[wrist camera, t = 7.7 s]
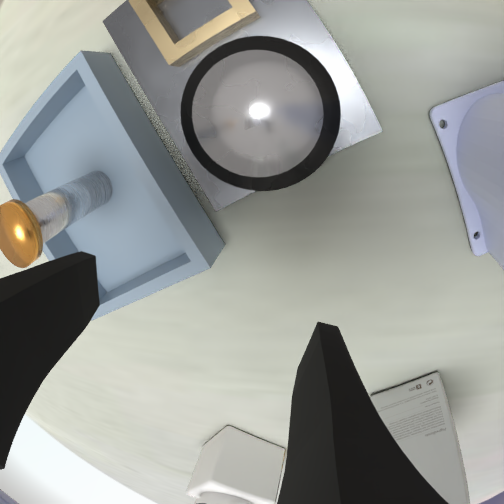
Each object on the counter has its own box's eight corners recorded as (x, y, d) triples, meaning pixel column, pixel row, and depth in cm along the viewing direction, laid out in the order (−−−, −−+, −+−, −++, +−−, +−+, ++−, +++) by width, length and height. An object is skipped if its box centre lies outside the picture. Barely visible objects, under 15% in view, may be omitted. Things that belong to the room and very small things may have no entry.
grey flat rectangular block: (381, 134, 15) (393, 141, 13) (224, 209, 19) (208, 228, 16) (249, -66, 11) (236, -90, 8) (113, 23, 15) (83, 17, 12)
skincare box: (368, 392, 24) (366, 572, 10) (442, 366, 21) (477, 547, 8) (391, 436, 26) (392, 576, 13) (453, 415, 24) (472, 556, 10)
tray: (225, 244, 20) (210, 267, 18) (110, 299, 25) (91, 320, 22) (110, 53, 16) (80, 50, 13) (21, 152, 20) (-6, 161, 18)
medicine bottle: (254, 466, 33) (233, 549, 23) (202, 444, 33) (170, 529, 22) (286, 448, 30) (267, 546, 19) (228, 423, 29) (193, 526, 19)
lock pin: (125, 178, 19) (35, 227, 12) (110, 220, 21) (30, 279, 14) (87, 154, 19) (-6, 192, 12) (75, 196, 20) (-8, 244, 13)
